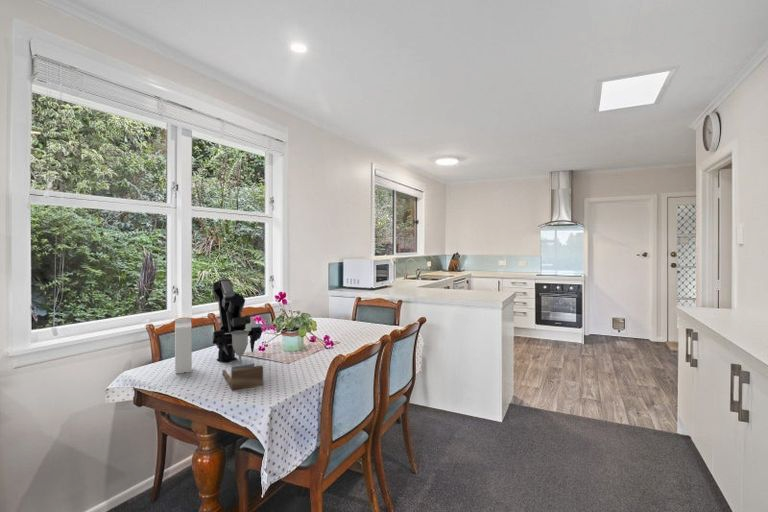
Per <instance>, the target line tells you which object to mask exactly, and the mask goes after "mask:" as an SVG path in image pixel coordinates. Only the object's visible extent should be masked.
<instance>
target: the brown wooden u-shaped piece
mask: <svg viewBox="0 0 768 512" xmlns="http://www.w3.org/2000/svg"><path fill="white" fill-rule="evenodd" d="M230 372H231V373H230V374H229V373H228V372H227V370H226V369H222V373H221V374H222V376H223V378H224V380H225V381H226V383H227V385H228V386H229V387H230V389H231V391H237V390H243V389H249V388H255V387H256V388H257V387H261V386H263V385H264V365H256V366H255V365H254V367H248V368H241V369H234V370H230Z"/></svg>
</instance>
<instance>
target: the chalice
mask: <svg viewBox="0 0 768 512" xmlns="http://www.w3.org/2000/svg"><path fill="white" fill-rule="evenodd" d="M249 331H250V330H246V329H244V330H239V331H233V332H231V334H232V346H233V349H234V351H235V356H238V358H237V362H238V364H237V366H239V365H243V364H242V361H243V360H242V356H244V354H245V351H246V350H247V347H248V344H249V338H248V337H249V336H248V333H249Z"/></svg>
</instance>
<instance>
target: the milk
mask: <svg viewBox="0 0 768 512" xmlns="http://www.w3.org/2000/svg"><path fill="white" fill-rule="evenodd" d="M174 322H175V323H174V373H175V374H176V373H178V374H183V373H184V372H186V373H191V372H192V371H193V369H192V367H193V363H192V359H193V357H192V356H193V355H192V347H193V346H192V344H193V343H192V342H193V341H192V339H193V338H192V337H193V336H192V334H193V333H192V329H193V328H192V317H184V318H175V320H174Z"/></svg>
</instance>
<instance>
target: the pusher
mask: <svg viewBox="0 0 768 512" xmlns="http://www.w3.org/2000/svg"><path fill="white" fill-rule="evenodd" d="M248 367H255V363H248V364H247V363H246V364H242V365H239V366H238V365H232V366H231V370H234V369H241V368H248ZM231 370H230V371H231Z"/></svg>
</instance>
